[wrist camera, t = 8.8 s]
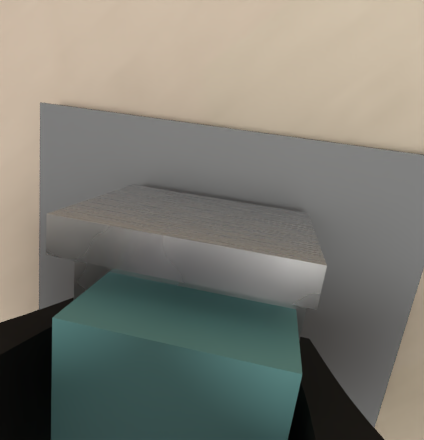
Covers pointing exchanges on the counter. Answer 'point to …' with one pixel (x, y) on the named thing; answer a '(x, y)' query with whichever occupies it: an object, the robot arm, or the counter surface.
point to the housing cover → (172, 365)
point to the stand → (272, 197)
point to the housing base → (192, 245)
